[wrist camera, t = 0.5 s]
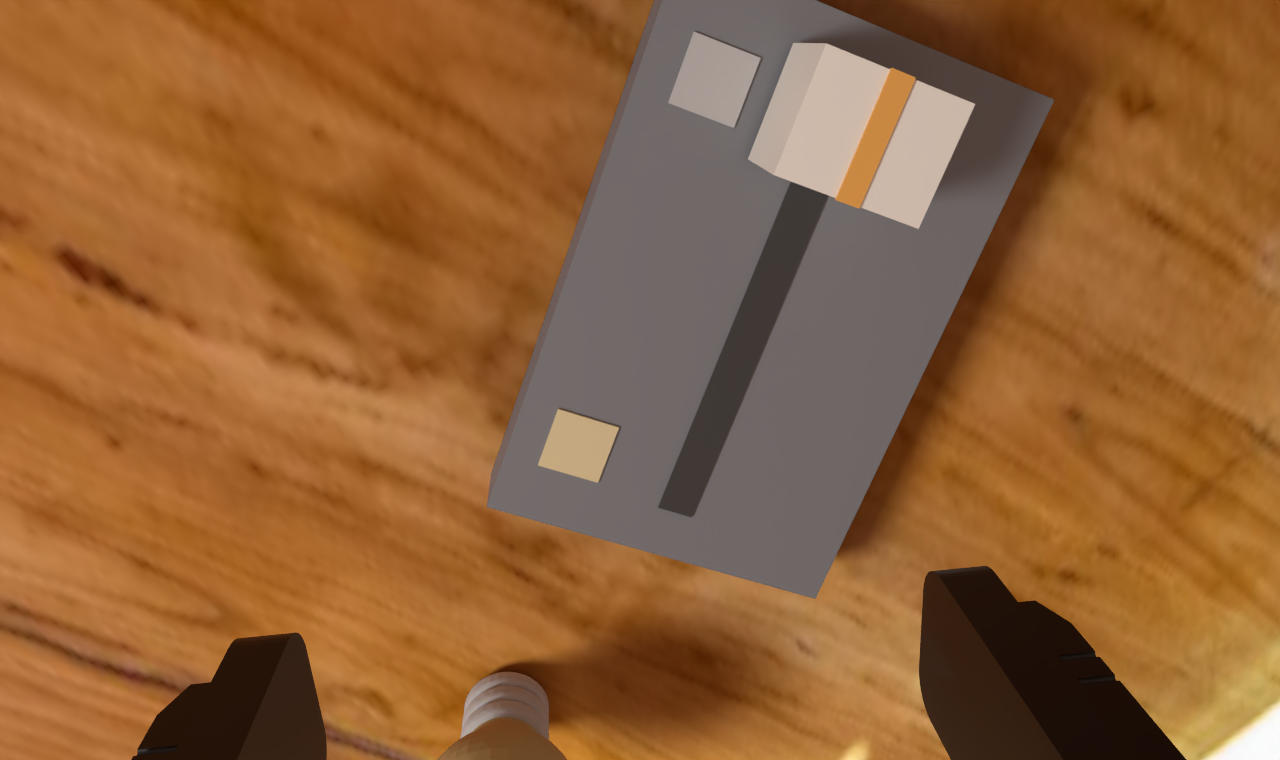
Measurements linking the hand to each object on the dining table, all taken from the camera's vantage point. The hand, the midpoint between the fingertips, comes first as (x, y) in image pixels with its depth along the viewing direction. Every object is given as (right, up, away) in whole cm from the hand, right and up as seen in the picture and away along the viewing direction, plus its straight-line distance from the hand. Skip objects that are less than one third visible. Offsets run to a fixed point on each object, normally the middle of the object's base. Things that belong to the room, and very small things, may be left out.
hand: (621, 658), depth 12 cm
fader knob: (+7, +12, +20) cm, 25 cm away
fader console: (+4, +7, +25) cm, 27 cm away
